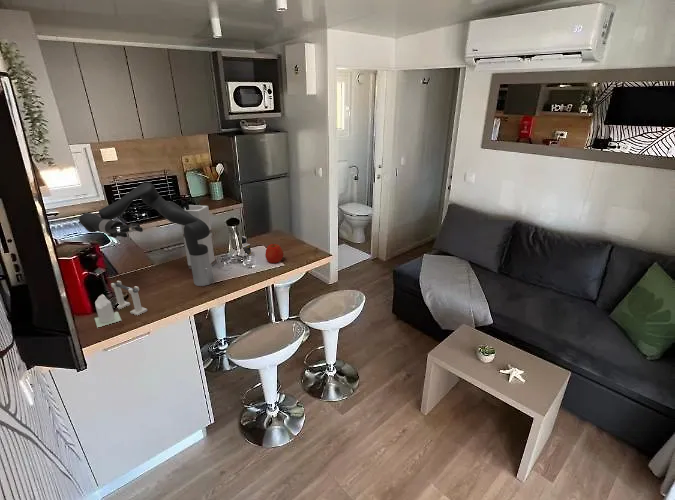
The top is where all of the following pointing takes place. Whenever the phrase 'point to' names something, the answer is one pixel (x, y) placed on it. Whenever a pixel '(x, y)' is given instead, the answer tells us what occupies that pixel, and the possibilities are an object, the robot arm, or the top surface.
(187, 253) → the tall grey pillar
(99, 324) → the mat
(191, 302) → the top surface
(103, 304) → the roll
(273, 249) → the apple
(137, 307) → the hurdle posts
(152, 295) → the top surface
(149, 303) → the top surface
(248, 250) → the medicine bottle
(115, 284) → the rod
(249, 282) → the top surface
